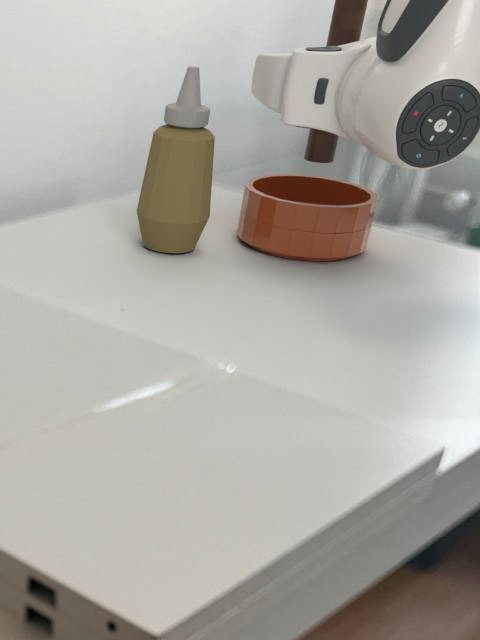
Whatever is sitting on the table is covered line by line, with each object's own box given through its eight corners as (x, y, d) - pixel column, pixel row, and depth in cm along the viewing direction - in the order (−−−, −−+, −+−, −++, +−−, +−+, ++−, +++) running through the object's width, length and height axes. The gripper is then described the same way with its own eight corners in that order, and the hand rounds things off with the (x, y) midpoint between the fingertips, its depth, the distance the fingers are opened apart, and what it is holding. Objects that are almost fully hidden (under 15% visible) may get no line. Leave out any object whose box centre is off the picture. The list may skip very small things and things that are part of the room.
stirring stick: (328, 156, 115) (364, -12, 105) (337, 163, 112) (374, -9, 103) (300, 156, 115) (333, -14, 105) (308, 162, 112) (343, -11, 103)
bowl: (341, 228, 126) (354, 176, 123) (381, 266, 114) (396, 209, 111) (224, 224, 125) (233, 171, 122) (252, 261, 114) (263, 204, 110)
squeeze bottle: (133, 234, 120) (154, 59, 109) (203, 240, 119) (231, 64, 109) (131, 254, 114) (153, 70, 103) (204, 261, 113) (234, 76, 102)
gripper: (494, 57, 97) (439, 37, 108) (280, 49, 96) (246, 30, 107) (473, 131, 100) (422, 104, 111) (267, 124, 99) (235, 98, 110)
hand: (334, 68), depth 109 cm, fingers closed on stirring stick, 3 cm apart
